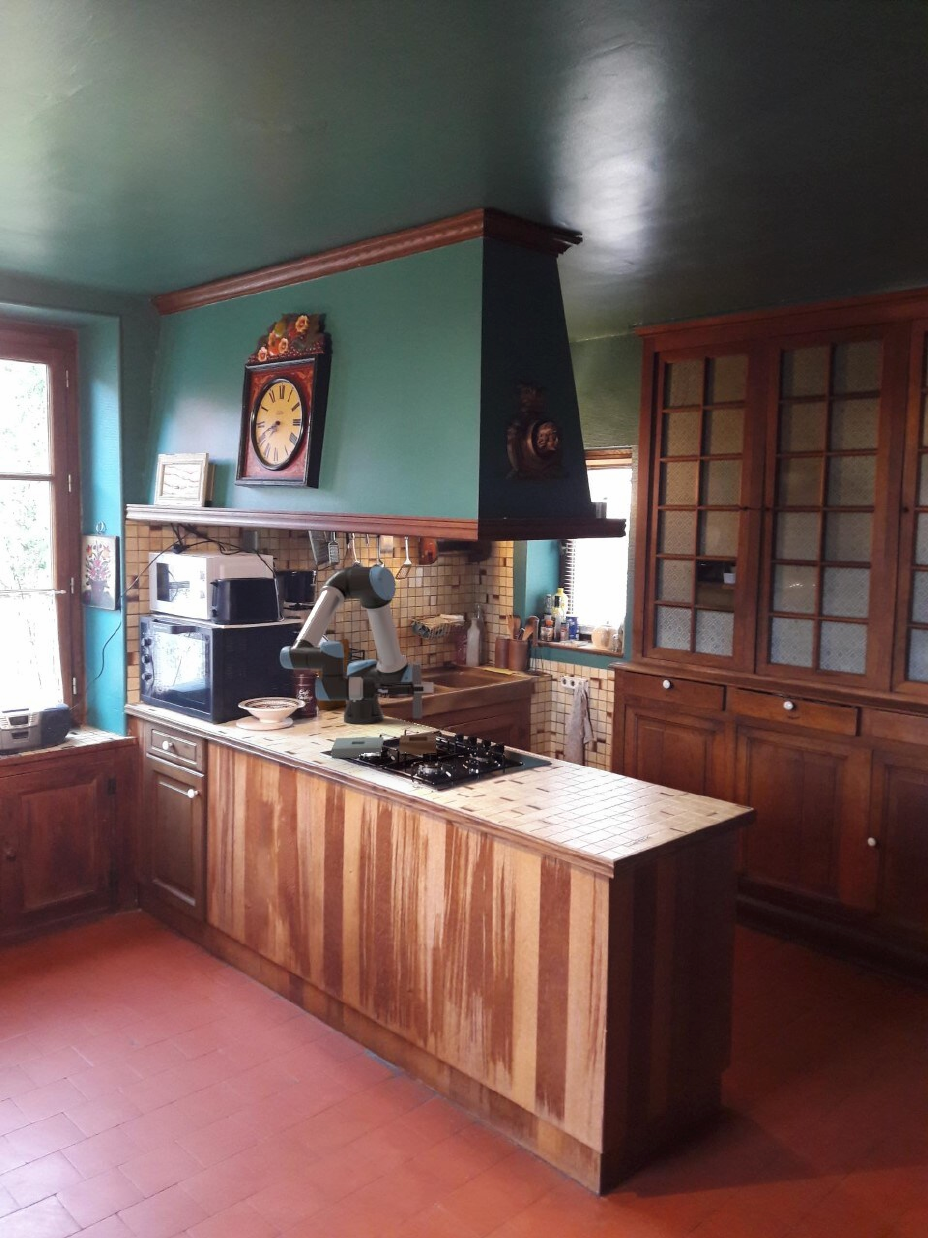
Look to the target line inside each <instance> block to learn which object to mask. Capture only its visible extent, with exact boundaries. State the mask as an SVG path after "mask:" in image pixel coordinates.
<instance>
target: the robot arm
mask: <svg viewBox="0 0 928 1238" xmlns="http://www.w3.org/2000/svg"><path fill="white" fill-rule="evenodd" d="M396 591H397V589H396V579H395V576H394V574H393V572H392V570H390V569H389V568H388V567H385V566H379V565H378V566H377V565H374V566H345V567H342V568H340V569H338V570H336V571H335V572H334V573H332V574H331V575H330V576H329V577H328V578H327V579H326V580H325V581H324V582H323V584H322V586H321V587H320V588H319V590H318V596H319V597H318V598H317V600H316V603H315V604H314V606H313V608H311V609H312V610H311V612H310V613H309V615H308V617H307V619H306V620H305V622H304V624H303V626H302V627H301V629H300V631H299V633H298V635H297V637H296V639H295V641H294V642H293V644H292V645H289V646H284V647H283V648H282V649H281V650H280V653H279V654H280V655H279V662H280V664H281V666H282V667H283V668H284V669H289V670H310V671H311V670H312V671H318V670H321V672H322V673H321V674H322V676H321V678H316V679H315V683H314V686H315V690H314V691H315V692H314V693H315V697H316V700H317V701H318V700H328V701H337V700H346V706H345V710H344V713H343V722H345V723H347V724H354V725H355V724H356V725H358V724H359V725H365V724H366V725H367V724H375V723H380V722H382V721H383V720H384V713H383V710H382V707H381V705H380V701H379V695H380V696H398V697H400V696H408V695H411V696H413V695H414V693H422V694H425V693H427V694H430V693H431V694H433V693H434V692H435V691H434V690H435V686H434V685H435V684H434V682H432V681H431V682H422V684H414V685H412V666H413V664H408V660H407V658H406V656H405V655H402V652H401V647H400V643H399V639H398V635H397V630H396V626H395V622H394V618H393V613H392V609H391V602H392V601H393V598H394V596H395V595H396ZM350 599H352V600H359V602H360V605H361V607H362V608H363V609H365V610H366V612H367V616H368V621H369V625H370V628H371V629H370V630H371V633H372V637H373V641H374V644H375V649H376V653H377V657H378V660H377V658H376V659H375V658H374V659H373V658H372V659H365V660H357V661H353V662H350V663H348V667H347V672H346V678H345V677H344V649H343V644H342V643H341V642H336V641H337V640H335V641H334V640H333V641H322V639H323V637H324V634H325V633H326V631H327V630H328V627H329V625H330V624H331V621H332V620H333V618H334V616H335V614H336V612H337V611H338V610H337V609H338V608H339V607H341V606H343V605H344V603H345V601H346V600H350ZM321 641H322V642H321ZM320 642H321V644H320ZM319 644H320V646H319ZM318 646H319V647H318Z"/></svg>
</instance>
